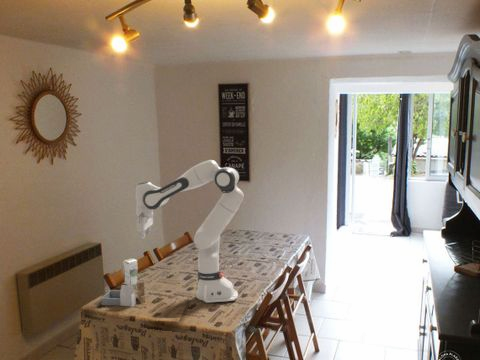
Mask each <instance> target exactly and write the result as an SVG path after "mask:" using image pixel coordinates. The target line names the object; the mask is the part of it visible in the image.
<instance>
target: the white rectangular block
mask: <svg viewBox="0 0 480 360" xmlns="http://www.w3.org/2000/svg"><path fill="white" fill-rule="evenodd" d="M120 290H121V291H120V297H119V298H120V305H119V306H123V307H131V308H133V307H134V306H135V305H137V299H136V298H137V297H136V296H137V294H136V290H135V288H134V285H132V286H129V285H126V284H122V285H121V286H120Z"/></svg>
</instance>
